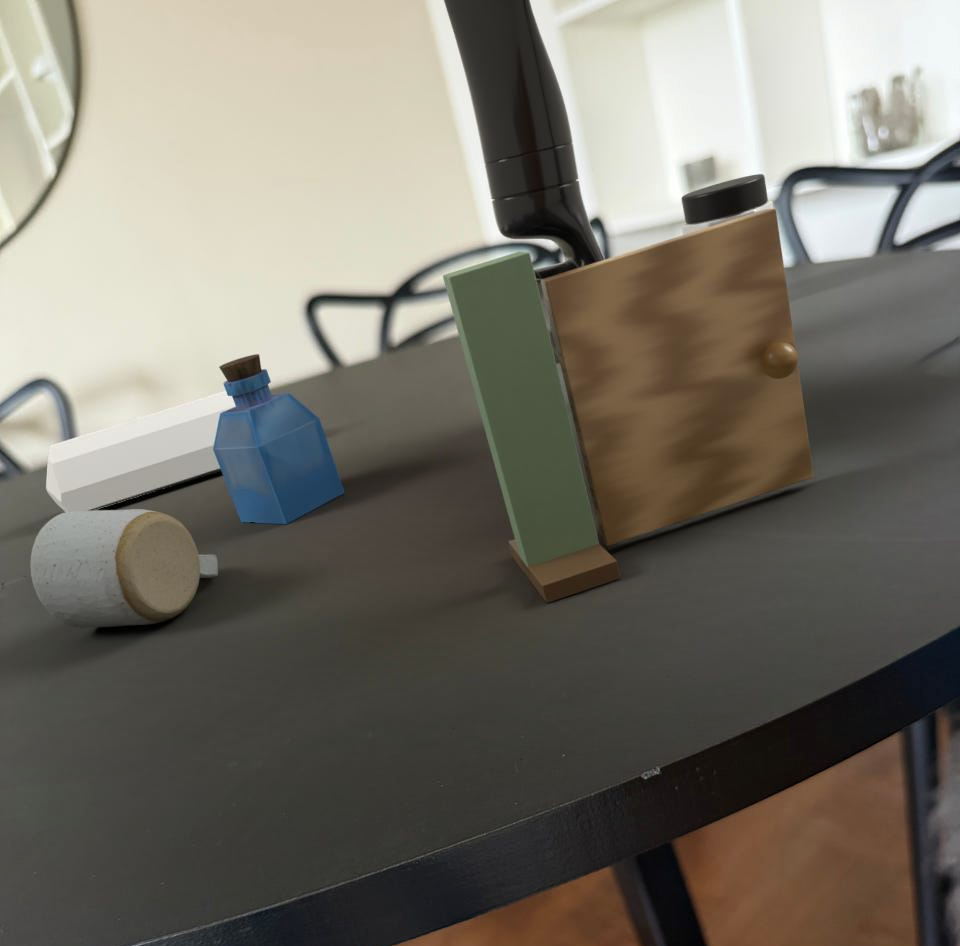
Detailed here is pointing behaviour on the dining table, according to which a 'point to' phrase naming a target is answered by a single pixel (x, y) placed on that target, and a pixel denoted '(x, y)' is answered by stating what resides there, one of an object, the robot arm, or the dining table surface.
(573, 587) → the door wall
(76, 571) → the ceramic mug
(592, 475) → the door
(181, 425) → the white beveled bar
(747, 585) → the dining table surface
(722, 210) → the jar
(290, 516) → the perfume bottle
